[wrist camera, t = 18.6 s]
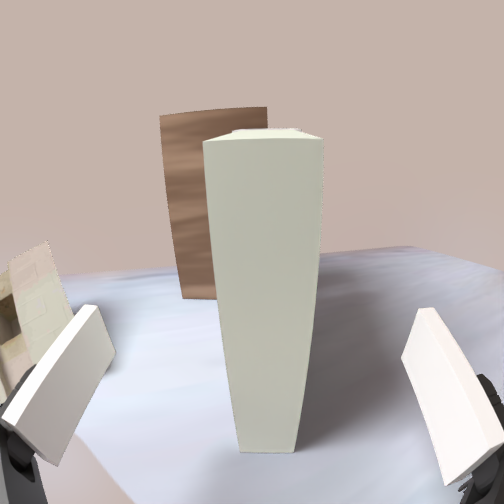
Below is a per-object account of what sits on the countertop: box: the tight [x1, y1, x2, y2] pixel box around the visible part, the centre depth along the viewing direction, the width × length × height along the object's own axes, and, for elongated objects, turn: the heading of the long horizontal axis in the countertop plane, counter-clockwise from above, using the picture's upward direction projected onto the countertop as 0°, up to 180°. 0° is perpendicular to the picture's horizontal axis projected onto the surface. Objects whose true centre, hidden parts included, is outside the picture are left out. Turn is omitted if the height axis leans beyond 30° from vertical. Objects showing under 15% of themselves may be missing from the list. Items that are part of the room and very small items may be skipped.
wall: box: [0, 241, 74, 404], centre depth 22 cm, size 16×9×15 cm
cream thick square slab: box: [203, 128, 324, 453], centre depth 19 cm, size 17×5×18 cm, turn 177°
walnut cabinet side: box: [160, 107, 268, 299], centre depth 27 cm, size 6×11×20 cm, turn 87°
